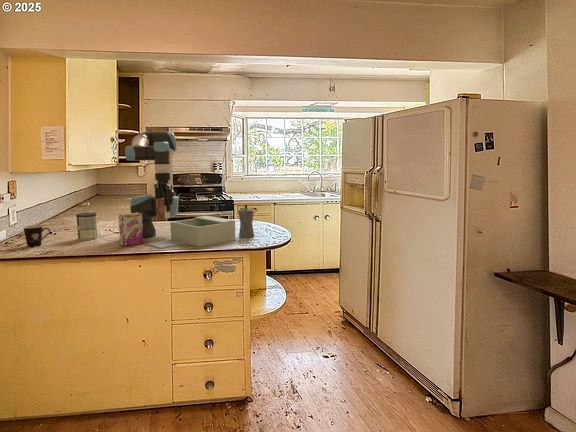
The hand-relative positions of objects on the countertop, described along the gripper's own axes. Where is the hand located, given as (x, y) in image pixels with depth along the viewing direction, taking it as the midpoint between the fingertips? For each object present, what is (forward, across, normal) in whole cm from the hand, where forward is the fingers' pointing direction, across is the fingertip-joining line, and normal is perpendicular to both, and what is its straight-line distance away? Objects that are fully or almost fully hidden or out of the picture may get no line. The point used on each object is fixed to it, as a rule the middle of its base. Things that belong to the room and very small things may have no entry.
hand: (164, 217), depth 249 cm
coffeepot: (+15, -13, -44) cm, 48 cm away
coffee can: (+14, +46, +21) cm, 53 cm away
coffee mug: (+15, +47, +47) cm, 68 cm away
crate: (+14, -4, -21) cm, 26 cm away
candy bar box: (+15, +13, +12) cm, 23 cm away
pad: (+14, 0, 0) cm, 14 cm away
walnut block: (0, 0, 0) cm, 0 cm away
